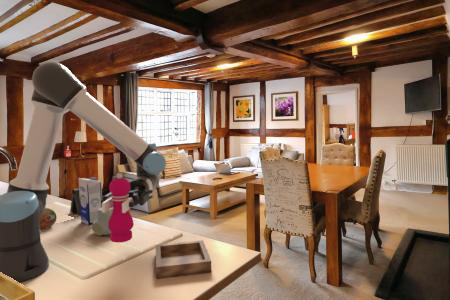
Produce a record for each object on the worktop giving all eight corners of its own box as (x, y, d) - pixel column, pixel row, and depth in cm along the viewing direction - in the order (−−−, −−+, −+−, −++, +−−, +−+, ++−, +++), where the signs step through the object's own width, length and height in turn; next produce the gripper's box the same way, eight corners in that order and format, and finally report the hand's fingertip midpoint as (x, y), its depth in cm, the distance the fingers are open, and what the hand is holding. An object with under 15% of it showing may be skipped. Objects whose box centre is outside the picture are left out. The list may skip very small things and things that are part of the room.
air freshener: (89, 233, 126) (87, 209, 125) (107, 227, 133) (105, 204, 131) (106, 239, 120) (105, 213, 119) (124, 232, 127) (123, 208, 125)
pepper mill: (107, 244, 91) (105, 175, 88) (109, 235, 97) (107, 171, 95) (134, 241, 93) (132, 174, 90) (133, 233, 100) (132, 170, 97)
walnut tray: (156, 278, 91) (156, 267, 90) (155, 254, 106) (155, 244, 106) (211, 272, 94) (211, 261, 94) (203, 249, 110) (203, 240, 109)
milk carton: (80, 222, 139) (78, 177, 136) (95, 218, 144) (93, 175, 142) (88, 225, 134) (86, 179, 132) (103, 221, 139) (101, 177, 137)
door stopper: (70, 212, 153) (68, 188, 152) (82, 209, 158) (80, 185, 156) (79, 215, 148) (78, 190, 146) (91, 212, 152) (90, 188, 151)
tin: (14, 234, 125) (13, 214, 124) (14, 232, 127) (12, 212, 126) (57, 226, 134) (55, 207, 133) (56, 224, 136) (54, 205, 135)
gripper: (164, 199, 112) (145, 221, 89) (114, 198, 112) (82, 220, 89) (164, 178, 111) (144, 195, 88) (113, 178, 112) (81, 194, 89)
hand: (113, 208), depth 89 cm, fingers closed on pepper mill, 5 cm apart
